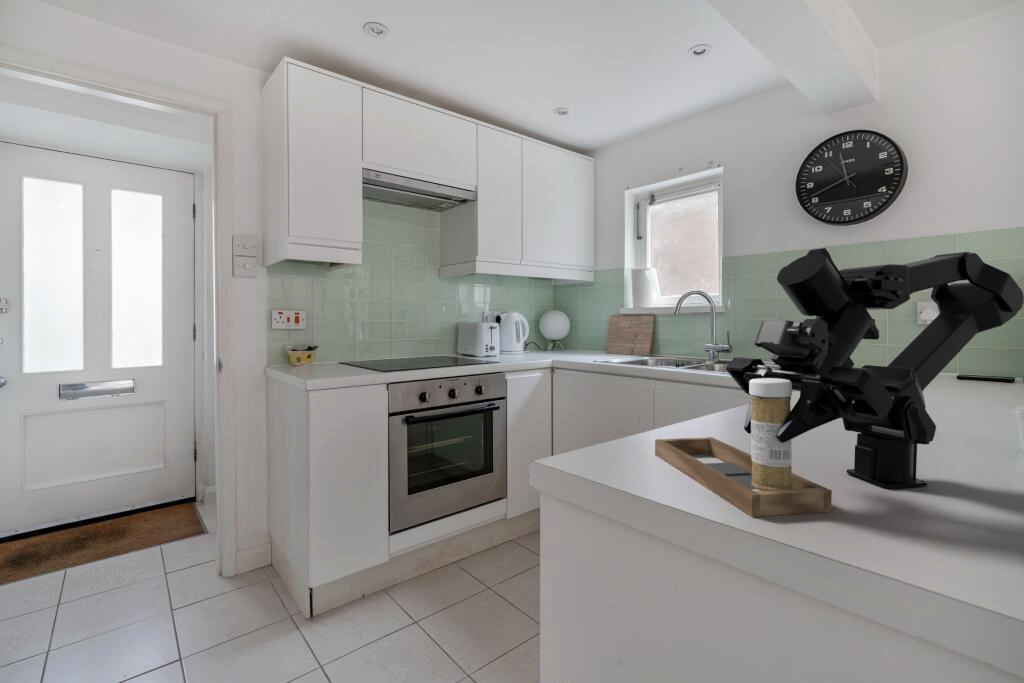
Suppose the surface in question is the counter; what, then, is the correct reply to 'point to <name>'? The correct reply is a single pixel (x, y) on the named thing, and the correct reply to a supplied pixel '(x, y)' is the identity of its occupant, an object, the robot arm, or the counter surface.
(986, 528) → the counter surface
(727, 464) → the mats
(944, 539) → the counter surface
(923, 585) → the counter surface
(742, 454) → the box
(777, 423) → the spice jar
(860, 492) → the counter surface
